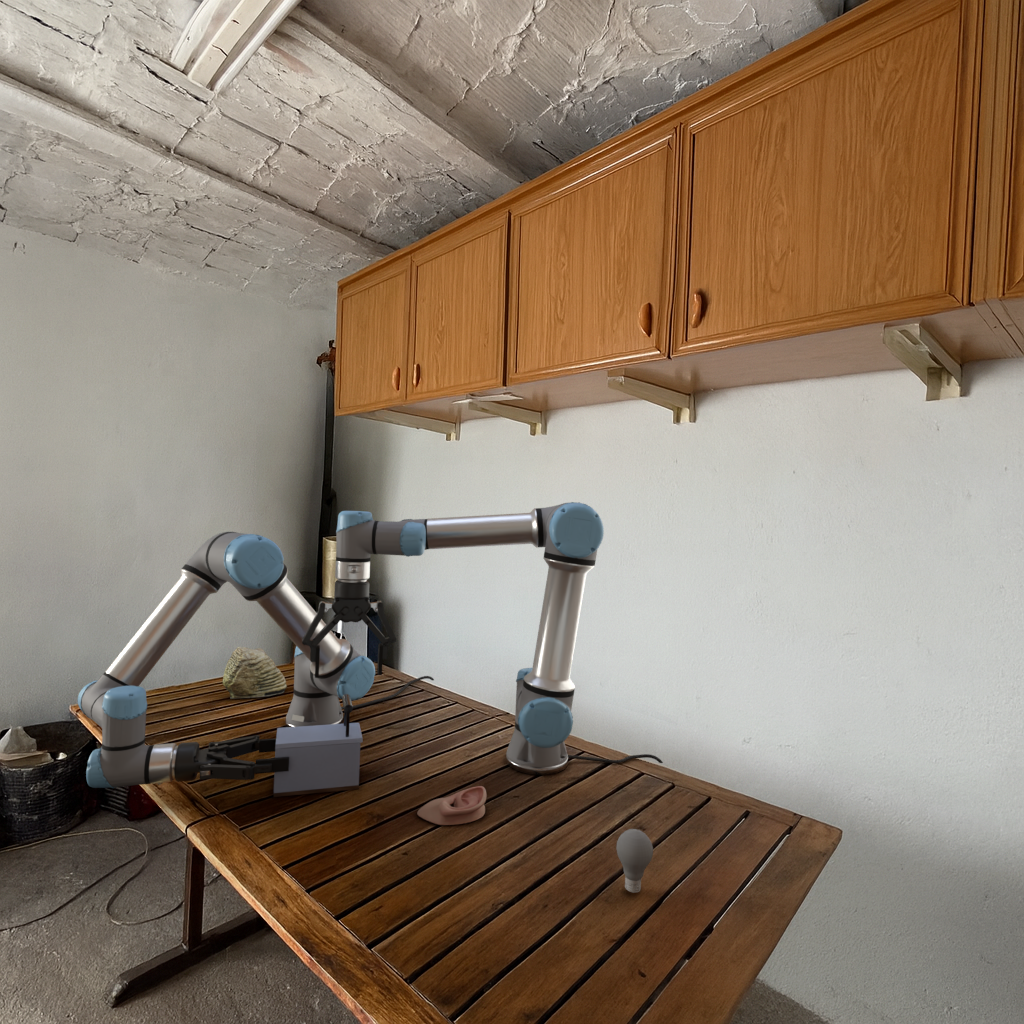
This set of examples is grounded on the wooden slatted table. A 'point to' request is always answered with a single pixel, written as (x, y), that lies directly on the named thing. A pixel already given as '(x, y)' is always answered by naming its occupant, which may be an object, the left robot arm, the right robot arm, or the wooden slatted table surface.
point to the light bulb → (634, 857)
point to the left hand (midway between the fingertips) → (289, 753)
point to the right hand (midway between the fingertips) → (348, 675)
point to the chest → (318, 769)
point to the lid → (321, 732)
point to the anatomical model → (456, 807)
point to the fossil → (252, 674)
